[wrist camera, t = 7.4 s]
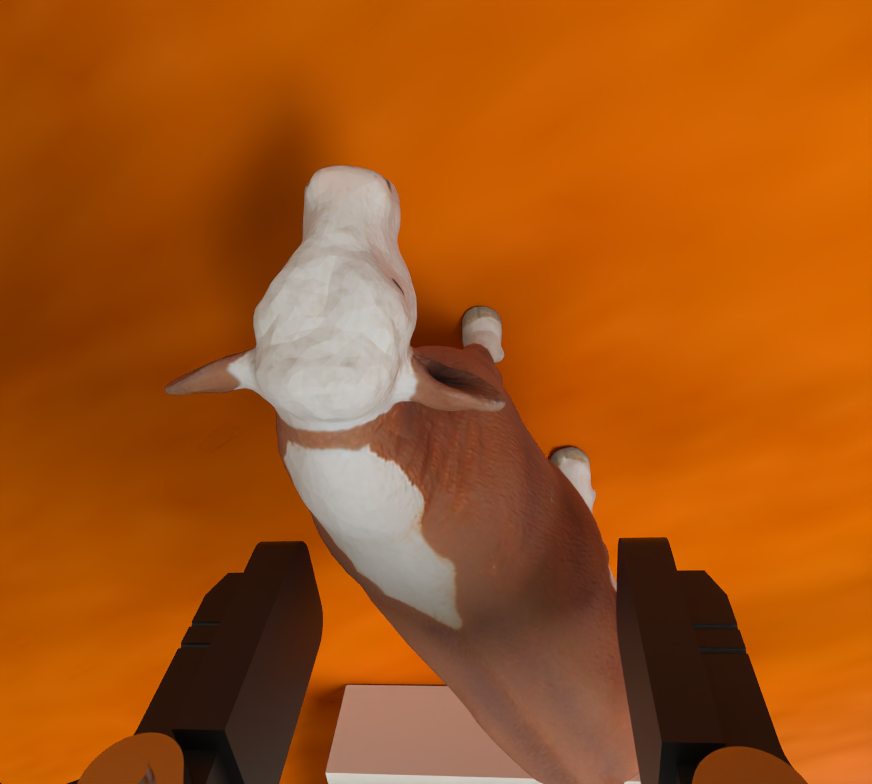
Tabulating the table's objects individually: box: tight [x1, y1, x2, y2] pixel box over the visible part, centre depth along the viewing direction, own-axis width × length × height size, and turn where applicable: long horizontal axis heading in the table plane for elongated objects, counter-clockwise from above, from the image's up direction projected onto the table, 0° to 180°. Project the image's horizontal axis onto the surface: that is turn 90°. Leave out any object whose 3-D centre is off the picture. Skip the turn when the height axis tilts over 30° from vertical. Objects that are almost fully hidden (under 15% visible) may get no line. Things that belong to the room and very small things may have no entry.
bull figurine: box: [165, 165, 639, 784], centre depth 14 cm, size 4×13×8 cm, turn 25°
